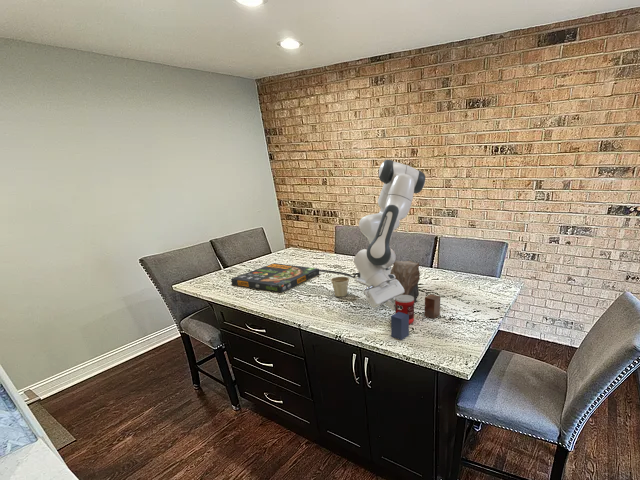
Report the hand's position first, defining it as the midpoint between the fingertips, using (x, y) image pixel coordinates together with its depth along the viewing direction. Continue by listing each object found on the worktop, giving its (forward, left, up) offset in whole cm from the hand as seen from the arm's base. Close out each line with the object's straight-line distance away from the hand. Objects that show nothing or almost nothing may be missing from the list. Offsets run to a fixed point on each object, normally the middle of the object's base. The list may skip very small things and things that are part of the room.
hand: (396, 308), depth 147 cm
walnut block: (+11, +12, -5) cm, 17 cm away
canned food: (+5, 0, -5) cm, 7 cm away
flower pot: (-41, +6, -5) cm, 42 cm away
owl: (-9, +17, -5) cm, 20 cm away
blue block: (+11, -12, -5) cm, 17 cm away
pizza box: (-91, +2, -5) cm, 91 cm away
